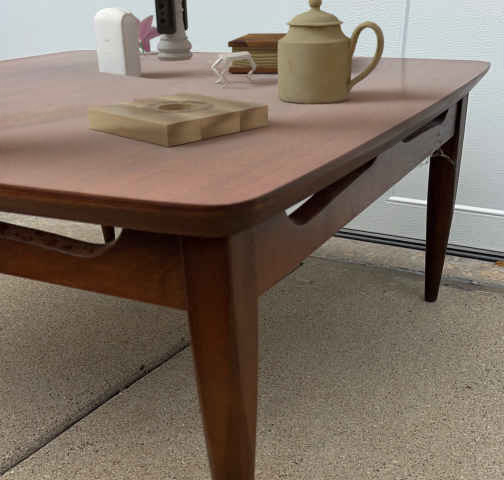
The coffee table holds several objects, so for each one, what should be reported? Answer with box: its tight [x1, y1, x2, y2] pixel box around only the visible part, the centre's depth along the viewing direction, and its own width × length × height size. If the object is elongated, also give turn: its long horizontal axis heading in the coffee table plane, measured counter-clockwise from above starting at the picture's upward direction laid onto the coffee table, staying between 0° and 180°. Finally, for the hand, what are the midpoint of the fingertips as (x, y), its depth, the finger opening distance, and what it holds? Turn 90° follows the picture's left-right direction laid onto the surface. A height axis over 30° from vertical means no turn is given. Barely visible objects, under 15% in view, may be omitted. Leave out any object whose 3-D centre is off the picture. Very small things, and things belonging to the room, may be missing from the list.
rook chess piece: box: [156, 0, 194, 62], centre depth 82 cm, size 4×4×8 cm
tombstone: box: [93, 6, 142, 78], centre depth 129 cm, size 10×4×12 cm, turn 44°
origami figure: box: [210, 51, 257, 89], centre depth 119 cm, size 12×8×5 cm
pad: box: [87, 92, 269, 148], centre depth 87 cm, size 16×16×2 cm
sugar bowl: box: [277, 0, 385, 105], centre depth 102 cm, size 15×11×15 cm
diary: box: [227, 32, 287, 74], centre depth 141 cm, size 23×19×6 cm
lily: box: [135, 14, 161, 54], centre depth 166 cm, size 12×12×10 cm
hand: (172, 31), depth 82 cm, fingers closed on rook chess piece, 3 cm apart
